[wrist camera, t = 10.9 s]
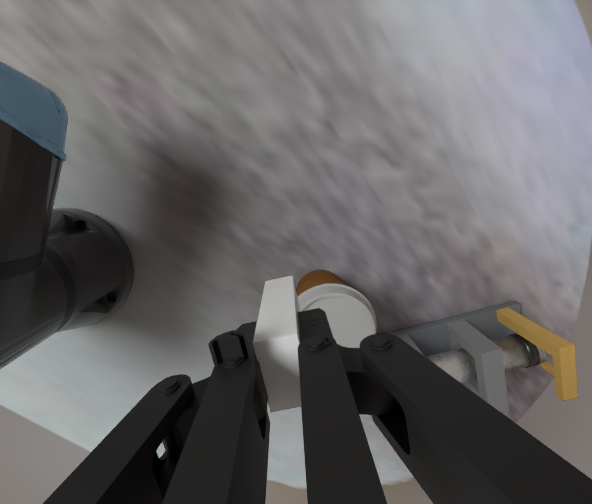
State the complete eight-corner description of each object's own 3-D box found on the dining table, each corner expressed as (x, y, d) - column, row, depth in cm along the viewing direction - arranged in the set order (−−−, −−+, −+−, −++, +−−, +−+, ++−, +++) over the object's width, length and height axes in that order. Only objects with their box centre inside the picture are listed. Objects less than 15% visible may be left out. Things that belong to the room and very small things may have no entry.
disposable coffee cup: (283, 259, 41) (281, 289, 29) (354, 257, 41) (381, 286, 29) (285, 325, 43) (285, 379, 31) (354, 323, 43) (378, 375, 31)
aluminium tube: (367, 391, 43) (375, 413, 39) (361, 365, 42) (369, 384, 38) (523, 352, 42) (548, 370, 38) (520, 325, 41) (545, 340, 37)
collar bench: (334, 403, 46) (349, 470, 35) (320, 350, 44) (331, 404, 33) (521, 356, 45) (594, 411, 34) (514, 300, 43) (590, 339, 32)
